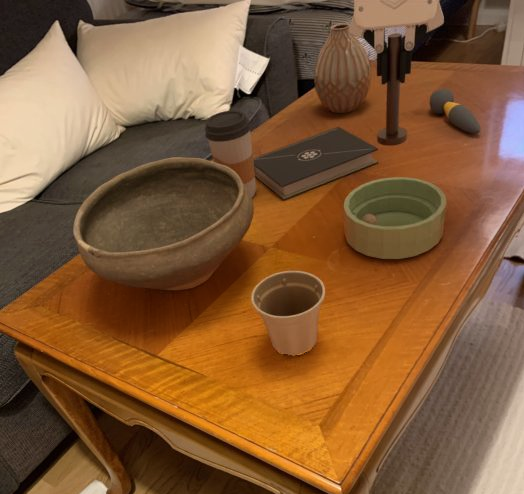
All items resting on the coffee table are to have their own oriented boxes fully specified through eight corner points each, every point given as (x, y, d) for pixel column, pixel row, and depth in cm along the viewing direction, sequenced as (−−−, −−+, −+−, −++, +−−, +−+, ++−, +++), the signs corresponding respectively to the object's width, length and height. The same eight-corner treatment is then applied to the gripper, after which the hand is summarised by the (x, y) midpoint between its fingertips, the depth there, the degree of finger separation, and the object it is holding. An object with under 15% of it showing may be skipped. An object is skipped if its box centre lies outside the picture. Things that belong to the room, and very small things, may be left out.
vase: (307, 117, 125) (299, 35, 112) (331, 95, 132) (327, 16, 120) (357, 121, 119) (355, 35, 106) (380, 98, 126) (380, 16, 114)
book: (338, 139, 114) (337, 126, 111) (378, 162, 104) (378, 148, 101) (250, 172, 109) (248, 159, 107) (283, 200, 99) (281, 186, 97)
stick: (407, 132, 79) (412, 28, 69) (406, 145, 76) (411, 38, 66) (378, 133, 80) (379, 31, 71) (375, 146, 77) (376, 42, 68)
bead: (374, 228, 88) (381, 213, 85) (373, 238, 86) (380, 223, 83) (357, 222, 87) (364, 207, 85) (356, 232, 85) (362, 217, 83)
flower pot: (289, 309, 76) (282, 262, 70) (342, 333, 71) (339, 284, 65) (247, 348, 72) (236, 301, 66) (300, 376, 67) (293, 327, 61)
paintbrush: (494, 132, 105) (498, 107, 102) (472, 139, 104) (476, 114, 101) (438, 103, 119) (440, 80, 115) (419, 109, 118) (420, 86, 115)
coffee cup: (269, 193, 102) (257, 115, 91) (234, 210, 99) (218, 133, 88) (246, 180, 107) (232, 105, 96) (212, 196, 104) (194, 121, 94)
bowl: (169, 216, 101) (147, 146, 91) (293, 241, 89) (283, 163, 79) (67, 304, 86) (27, 231, 76) (200, 349, 73) (173, 269, 63)
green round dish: (441, 207, 89) (445, 175, 85) (443, 262, 79) (447, 228, 74) (350, 209, 93) (349, 178, 89) (340, 261, 83) (338, 229, 78)
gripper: (325, -74, 59) (333, 94, 72) (473, -97, 55) (454, 86, 68) (334, -84, 64) (340, 75, 77) (470, -106, 60) (452, 66, 73)
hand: (393, 79), depth 72 cm, fingers closed on stick
